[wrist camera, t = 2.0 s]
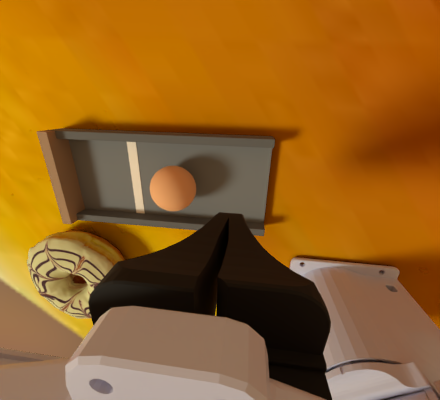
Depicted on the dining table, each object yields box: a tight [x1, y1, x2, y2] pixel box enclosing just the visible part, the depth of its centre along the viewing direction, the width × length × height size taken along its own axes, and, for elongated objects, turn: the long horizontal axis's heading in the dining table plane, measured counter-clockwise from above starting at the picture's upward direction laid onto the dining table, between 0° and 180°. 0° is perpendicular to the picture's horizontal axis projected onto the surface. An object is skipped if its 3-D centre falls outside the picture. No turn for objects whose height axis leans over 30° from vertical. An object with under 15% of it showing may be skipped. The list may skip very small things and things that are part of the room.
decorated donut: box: [27, 231, 125, 318], centre depth 24 cm, size 10×11×4 cm
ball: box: [150, 166, 196, 211], centre depth 18 cm, size 4×4×4 cm
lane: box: [37, 128, 275, 236], centre depth 19 cm, size 18×8×3 cm, turn 89°
